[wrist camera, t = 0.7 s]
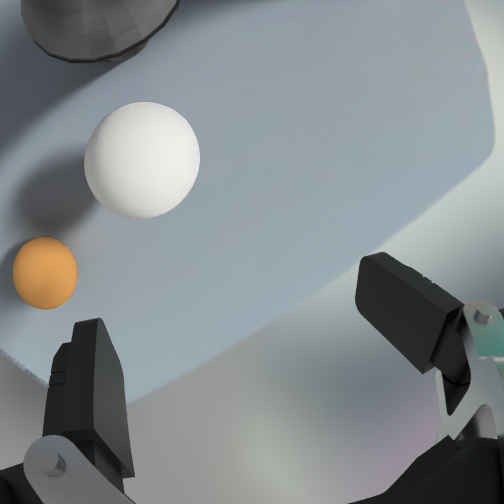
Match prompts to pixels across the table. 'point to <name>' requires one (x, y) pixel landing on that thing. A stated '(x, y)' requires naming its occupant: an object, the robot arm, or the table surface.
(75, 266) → the ball
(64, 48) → the beverage cup
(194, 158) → the light bulb
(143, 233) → the table surface
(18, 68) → the table surface
